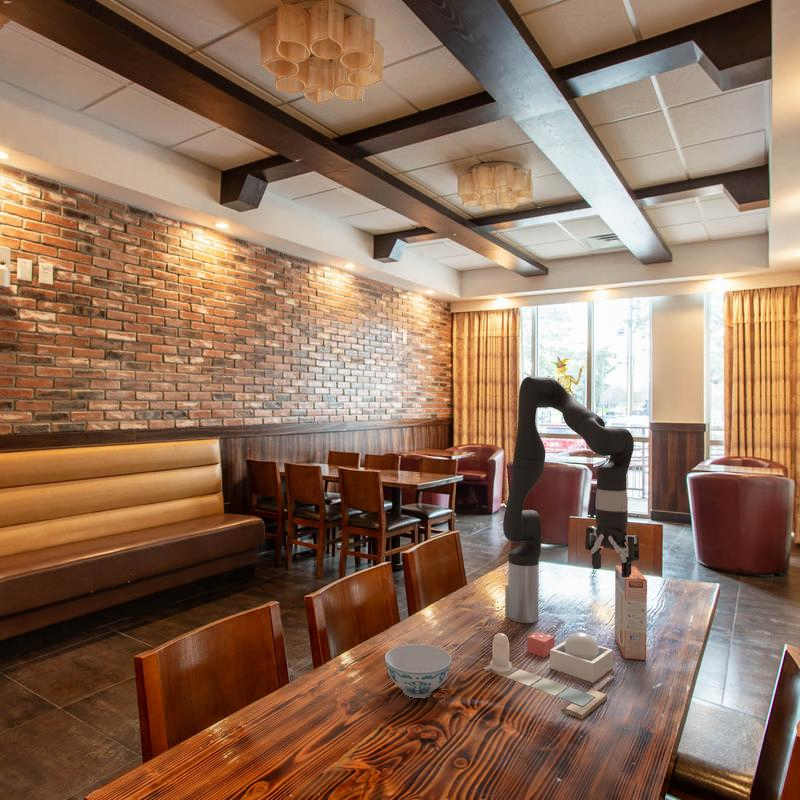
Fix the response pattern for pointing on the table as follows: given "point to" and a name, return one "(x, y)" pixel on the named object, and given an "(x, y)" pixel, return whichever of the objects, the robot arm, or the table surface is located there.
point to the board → (580, 700)
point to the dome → (582, 646)
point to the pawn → (500, 654)
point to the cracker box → (631, 613)
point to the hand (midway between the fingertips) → (611, 572)
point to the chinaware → (418, 668)
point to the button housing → (582, 663)
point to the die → (540, 644)
